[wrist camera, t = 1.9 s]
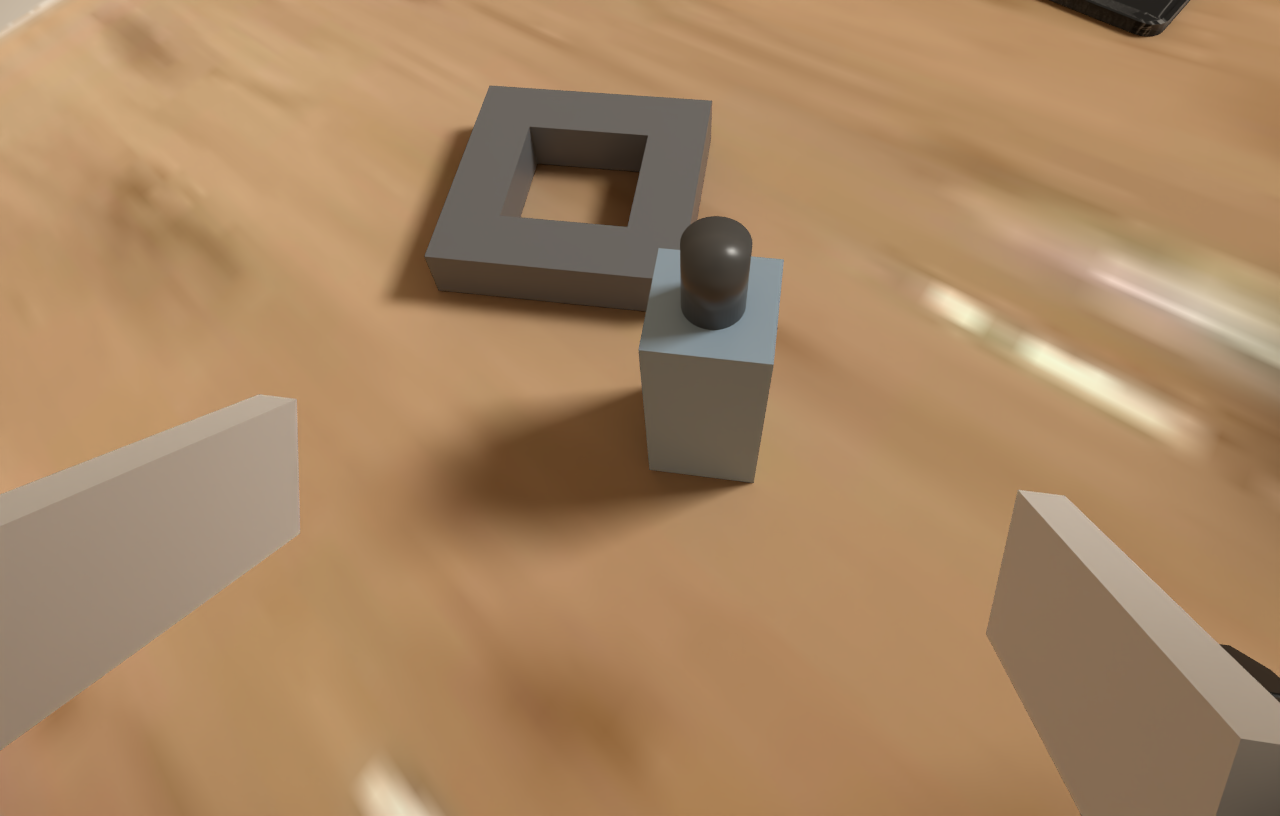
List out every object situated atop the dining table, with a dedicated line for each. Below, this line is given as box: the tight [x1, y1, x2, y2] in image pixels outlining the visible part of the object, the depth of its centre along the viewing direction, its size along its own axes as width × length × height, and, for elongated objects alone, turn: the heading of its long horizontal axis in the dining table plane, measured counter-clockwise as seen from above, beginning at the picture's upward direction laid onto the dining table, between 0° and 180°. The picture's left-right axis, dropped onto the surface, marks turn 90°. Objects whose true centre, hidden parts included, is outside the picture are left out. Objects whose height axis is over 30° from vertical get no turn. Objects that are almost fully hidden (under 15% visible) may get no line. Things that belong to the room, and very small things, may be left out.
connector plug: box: [639, 216, 784, 483], centre depth 30 cm, size 4×4×12 cm
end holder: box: [424, 86, 712, 311], centre depth 41 cm, size 12×12×2 cm
